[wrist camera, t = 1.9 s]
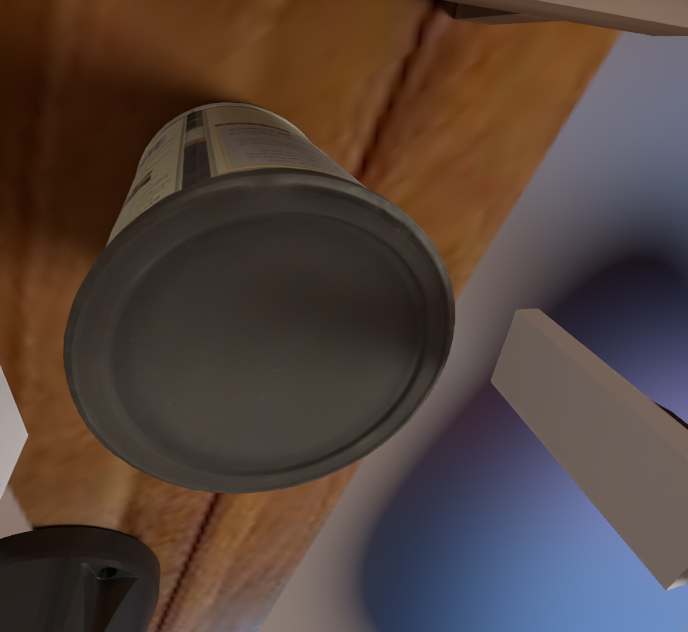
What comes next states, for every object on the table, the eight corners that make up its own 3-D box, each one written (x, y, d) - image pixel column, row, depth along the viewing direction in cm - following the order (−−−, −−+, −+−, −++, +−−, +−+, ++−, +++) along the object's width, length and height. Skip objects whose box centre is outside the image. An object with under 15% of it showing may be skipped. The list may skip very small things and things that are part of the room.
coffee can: (312, 298, 27) (396, 483, 16) (132, 283, 23) (73, 511, 12) (353, 126, 22) (516, 215, 11) (135, 73, 19) (43, 123, 7)
